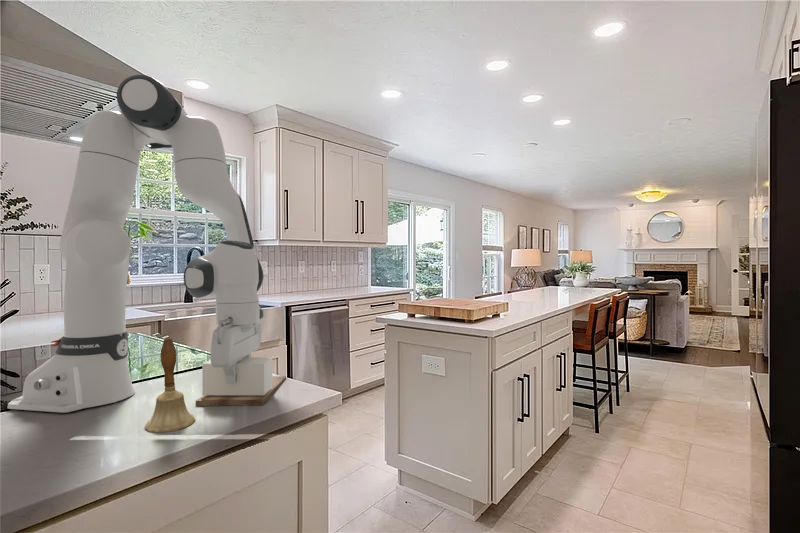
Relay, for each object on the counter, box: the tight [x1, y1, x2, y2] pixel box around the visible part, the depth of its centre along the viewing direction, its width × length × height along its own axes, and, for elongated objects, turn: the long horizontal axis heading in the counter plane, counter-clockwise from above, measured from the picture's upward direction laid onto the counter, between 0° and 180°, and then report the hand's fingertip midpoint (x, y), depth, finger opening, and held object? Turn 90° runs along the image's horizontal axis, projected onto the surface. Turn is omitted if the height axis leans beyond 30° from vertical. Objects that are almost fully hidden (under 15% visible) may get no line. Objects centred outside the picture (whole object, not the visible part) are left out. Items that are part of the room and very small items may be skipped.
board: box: [195, 375, 287, 407], centre depth 100 cm, size 14×19×1 cm
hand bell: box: [144, 337, 196, 433], centre depth 80 cm, size 8×8×16 cm
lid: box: [201, 356, 273, 396], centre depth 94 cm, size 13×6×7 cm, turn 90°
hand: (238, 378), depth 94 cm, fingers open, 6 cm apart
